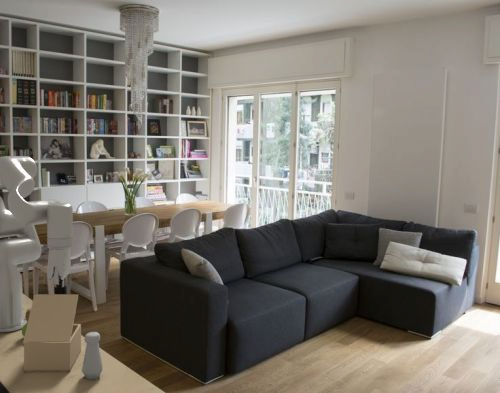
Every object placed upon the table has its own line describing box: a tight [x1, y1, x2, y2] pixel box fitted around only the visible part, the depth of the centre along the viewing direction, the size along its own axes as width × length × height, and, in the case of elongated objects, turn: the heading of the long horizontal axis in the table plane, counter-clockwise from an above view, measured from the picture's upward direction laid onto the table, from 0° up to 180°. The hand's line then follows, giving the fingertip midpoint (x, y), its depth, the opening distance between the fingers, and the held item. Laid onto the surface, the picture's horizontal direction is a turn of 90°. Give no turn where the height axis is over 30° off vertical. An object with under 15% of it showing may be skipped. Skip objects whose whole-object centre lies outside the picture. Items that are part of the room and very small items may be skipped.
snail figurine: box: [21, 300, 33, 337], centre depth 166 cm, size 5×6×12 cm
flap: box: [22, 293, 79, 343], centre depth 147 cm, size 15×13×1 cm
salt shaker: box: [81, 331, 104, 381], centre depth 141 cm, size 6×6×13 cm
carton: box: [23, 323, 82, 373], centre depth 150 cm, size 14×13×9 cm
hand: (60, 298), depth 156 cm, fingers closed
